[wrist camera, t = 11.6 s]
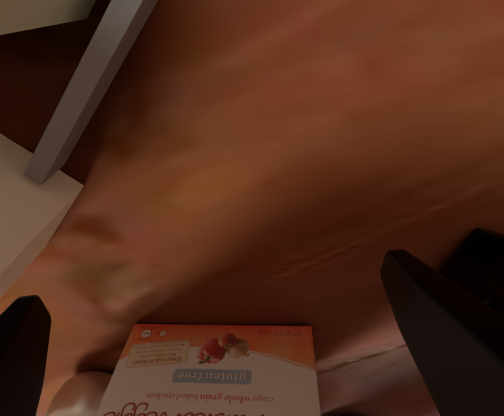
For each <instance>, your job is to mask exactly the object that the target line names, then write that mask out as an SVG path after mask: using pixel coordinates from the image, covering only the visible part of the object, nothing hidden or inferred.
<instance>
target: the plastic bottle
mask: <svg viewBox="0 0 504 416" xmlns="http://www.w3.org/2000/svg"><path fill="white" fill-rule="evenodd" d="M111 377H112V375H111V374H108V373H104V372H99V371H87V372H82V373H79V374H77V375H75V376H74V377H72V378H71V379H69V380H67V381H66V382H65V383H64V384H63V386H62V387H61V388H60V390H59V391H58V392H57V394H56V395H55V396H54V398H53V399H52V401H51V404H50V406H49V409H48V411H47V414H46V416H95V415H96V413H97V411H98V408H99V406H100V403H101V401H102V399H103V396H104V394H105V392H106V389H107V387H108V385H109V382H110V380H111Z"/></svg>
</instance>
